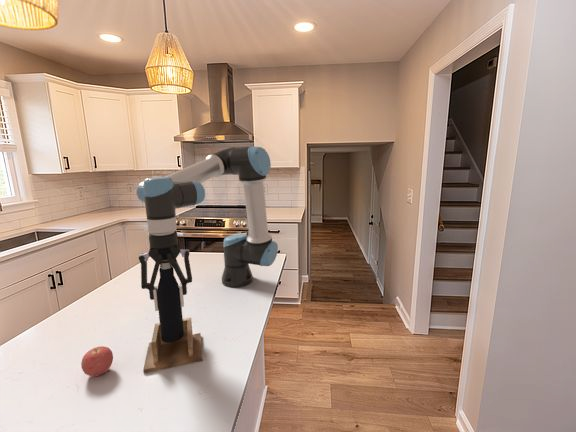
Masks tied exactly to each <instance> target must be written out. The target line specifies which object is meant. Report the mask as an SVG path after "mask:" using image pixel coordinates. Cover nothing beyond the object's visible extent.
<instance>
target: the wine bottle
mask: <svg viewBox="0 0 576 432" xmlns="http://www.w3.org/2000/svg"><path fill="white" fill-rule="evenodd" d="M158 253H159V254H161V255H163V256H162V259H163V260H162V261H168V259H167V254H168V253H170V247H169V248H163V249H158ZM158 271H159V281H158V285H157V300H158V319H159V323H160V329H161V339H162V341H163V342H166V343H171V342H175V341H178V340H180V339H181V338H182V337H183V336H184V329H183V319H184V318H183V309H182V308H183V307H181V300H180V289H179V283H178V281H177V279H176V277H175V274H174V273H175V270H174V268H173V266H172V264H170V262H169V263H161V265H159V269H158Z"/></svg>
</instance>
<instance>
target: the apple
mask: <svg viewBox="0 0 576 432" xmlns="http://www.w3.org/2000/svg"><path fill="white" fill-rule="evenodd" d="M113 361H114V354H113V351H112V350H111V348H109V347H107V346H101V345H100V346H97V347H93V348H91V349H90V350H88V351H87V352H86V353H85V354H84V355H83V357H82V358H81V362H80V363H81V364H80V365H81V370H82V371H83V373H84V375H87V376H89V377H99V376H102V375H103V374H105V373H107V371H108V370H109V369H110V368H111V366H112V364H113Z"/></svg>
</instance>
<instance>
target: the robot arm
mask: <svg viewBox="0 0 576 432" xmlns="http://www.w3.org/2000/svg"><path fill="white" fill-rule="evenodd" d="M271 163H272V162H271V158H270V155H269V153H268V151H266V149H265V148H263V147H262V146H261V147H260V146H255V145H254V146H253V145H252V146H233V147H228V148H223V149H222V150H218V151H216V152H213V153H212V154H209V155H207V156H206V157H205V159H204V160H200V161H198V162H196V163H193V164H192V165H189V166H187V167H184V168H182V169H179V170H177V171H175V172H172V173H170V174H167V175H165V176H163V177H162V176H160V177H157V176H155V177H147V178H145V179H144V180H143V181H142V182H140V183H139V184H138V185H137V187H136V197H137V199H138V201H140V202H142V203H143V204H144V205H145V214H146V215H145V216H146V225H147V232H148V233H149V234H148V243H149V251H148V252H146V253H143V252H141V253H140V254H139V256H138V260H139V263H140V274H141V275H140V279H141V289H142V290H143V289H144V290H145V289H146V290H148V293H149V299H150V301H152V300H153V302H154V310H155V312H157V311H158V312H159V310H158V300H157V289H158V285H155V283H156V280H157V276H158V271H159V269H160V265H161V263H169V262H170V264H172V266H173V270H174V273H175V274H176V276H177V277H178V280H179V283H178V285H179V289H180V300H181V307H182V308H183V307H185V306H184V305H185V302H184V296H185V295H187V294H188V291H187V289H188V287H187V285H188V284H190V283H192V282H193V275H192V270H191V269H192V268H191V264H190V249H189V248H186V249H185V248H184V249H182V248H180V246H179V239H178V232H177V231H176V230H178V229H177V228H178V227H177V226H178V225H177V216H176V214H177V213H176V210H177V209H181V208H185V207H191V206H192V207H193V206H194V207H195V206H196V205H199V204H201V203H202V202H204V200H205V198H206V191H205V188H204V185H202V183H204V182H206V181H208V180H210V179H213V178H219V177H222V176H226V175H237V176H238V180H239V182H241V184H243V185H242V186H243V191H244V192H243V193H244V200H245V201H244V203H245V210H246V217H247V218H246V219H247V226H248V227H247V229H248V234H249V235H248V234H247V233H239V234H232V235H229V236H226V237H225V238H224V239H223V247H222V248H223V261H224V269H223V272H222V275H221V284H222V285H223V286H225V287H228V288H229V287H230V288H239V287H245V286H248V285H250V284H251V283H252V282H253V281H254V278H253V277H254V275H253V273H252V271H251V268H250V265H255V266H260V267H271V266H272V265H273V264H274V263H275V261H276V258H277V255H278V249H279V247H278V243H277V241H273V237H272V234H270V233H269V227H268V220H267V218H268V217H267V208H266V198H265V197H266V196H265V187H264V182H265V180H266V179H267V175H269V173H270V171H271V168H272V167H271V166H272V165H271ZM169 247H170V253H168V254H167V259H168V261H162V260H163V259H162V256H163V255H161V254H159V253H158V249H163V248H169ZM180 254H181V257H182V258H184V259H183V261H184V266H185V272H186V276H187V277H186V276H185V274H184V272H183V271H182V268H181V267H180V265H179V263H178V260H177V258H178V256H179V255H180ZM149 257H150V258H151V259H152V260H153V261H154V262H155V264H154V268H153V271H152V274H151V279H150V282H148V262H149V261H148V260H149ZM249 264H250V265H249Z"/></svg>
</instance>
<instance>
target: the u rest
mask: <svg viewBox="0 0 576 432" xmlns="http://www.w3.org/2000/svg"><path fill="white" fill-rule="evenodd" d="M192 324H193V322H192V317H188V318H187V317H186V318H183V329H184V336H183V337H182V338H181V339H180V340H178V341H175V342H171V343H166V342H163V341H162V339H161V329H160V322H158V323H156V322H155V323H154V327H153V333H152V336H151V341H150V342H149V343H148V346H147V351H146V356H145V360H144V365H143V370H142V371H143V374H148V373H153V372H156V371H161V370H165V369H166V370H167V369H171V368H174V367H175V368H177V367H178V366H185V365H189V364H194V363H198V362H202V361H203V352H202V351H203V350H202V348H203V347H202V335H201V334H202V333H201V332H199V333H193V325H192Z"/></svg>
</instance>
